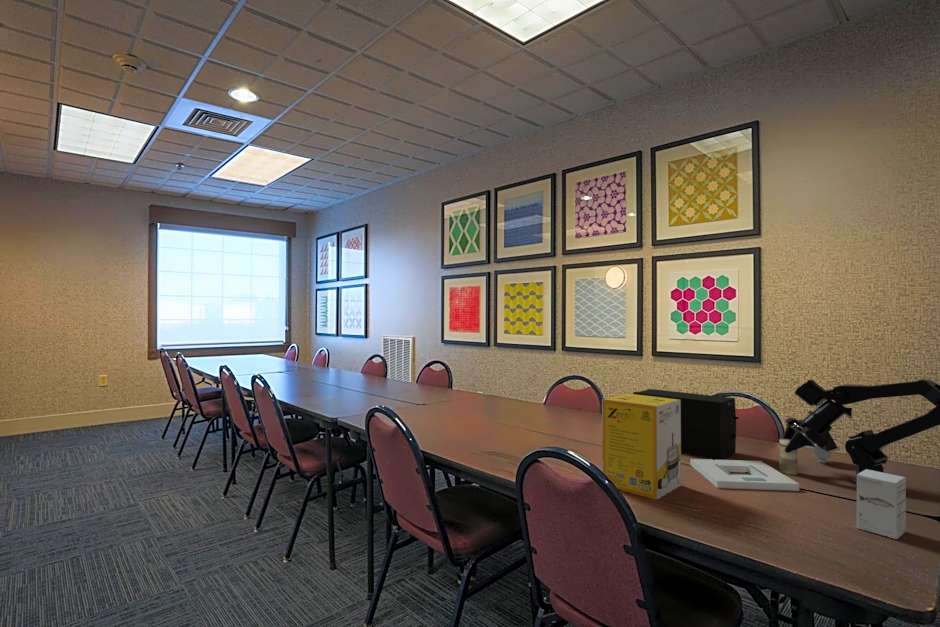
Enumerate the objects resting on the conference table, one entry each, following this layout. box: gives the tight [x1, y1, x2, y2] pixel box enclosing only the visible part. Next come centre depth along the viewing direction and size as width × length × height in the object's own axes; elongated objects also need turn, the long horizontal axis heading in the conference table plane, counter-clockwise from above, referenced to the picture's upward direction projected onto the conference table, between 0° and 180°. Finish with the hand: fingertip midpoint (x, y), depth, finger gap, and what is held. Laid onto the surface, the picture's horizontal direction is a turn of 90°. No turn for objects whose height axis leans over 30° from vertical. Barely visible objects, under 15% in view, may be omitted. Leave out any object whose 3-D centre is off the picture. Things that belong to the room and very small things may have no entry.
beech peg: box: [778, 438, 799, 476], centre depth 151 cm, size 5×5×10 cm
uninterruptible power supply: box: [632, 388, 740, 460], centre depth 179 cm, size 16×34×20 cm, turn 44°
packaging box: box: [601, 393, 682, 501], centre depth 139 cm, size 16×16×25 cm
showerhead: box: [805, 443, 840, 464], centre depth 162 cm, size 9×7×10 cm
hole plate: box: [689, 458, 800, 492], centre depth 147 cm, size 22×22×2 cm
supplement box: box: [856, 469, 907, 540], centre depth 109 cm, size 7×7×13 cm
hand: (783, 449), depth 151 cm, fingers closed on beech peg, 5 cm apart
